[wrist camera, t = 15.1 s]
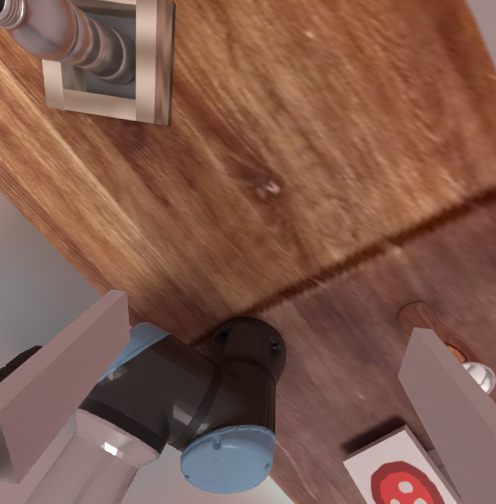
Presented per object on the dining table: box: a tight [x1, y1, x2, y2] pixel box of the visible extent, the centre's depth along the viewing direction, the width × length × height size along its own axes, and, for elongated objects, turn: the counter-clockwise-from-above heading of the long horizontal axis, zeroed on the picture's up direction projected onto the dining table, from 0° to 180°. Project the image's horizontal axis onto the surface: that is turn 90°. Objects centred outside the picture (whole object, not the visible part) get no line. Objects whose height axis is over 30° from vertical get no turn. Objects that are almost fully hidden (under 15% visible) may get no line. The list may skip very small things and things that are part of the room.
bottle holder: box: [42, 0, 176, 126], centre depth 38 cm, size 15×15×6 cm
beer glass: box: [398, 302, 496, 395], centre depth 43 cm, size 7×7×15 cm
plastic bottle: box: [0, 0, 136, 84], centre depth 31 cm, size 6×7×20 cm
